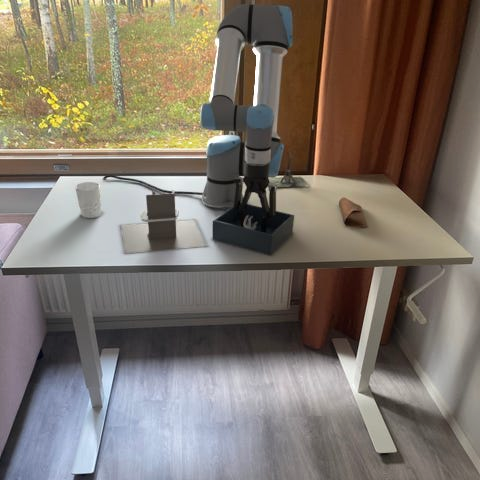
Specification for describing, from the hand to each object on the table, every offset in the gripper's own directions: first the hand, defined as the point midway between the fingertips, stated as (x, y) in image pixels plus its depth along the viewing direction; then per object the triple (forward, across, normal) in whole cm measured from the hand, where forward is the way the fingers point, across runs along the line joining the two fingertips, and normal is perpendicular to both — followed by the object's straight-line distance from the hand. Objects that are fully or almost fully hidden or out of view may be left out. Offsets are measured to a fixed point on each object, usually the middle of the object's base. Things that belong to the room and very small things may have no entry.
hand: (253, 232), depth 164 cm
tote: (+1, 0, 0) cm, 1 cm away
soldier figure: (0, -1, 0) cm, 1 cm away
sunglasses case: (+2, +23, +33) cm, 40 cm away
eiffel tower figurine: (+1, -9, +51) cm, 52 cm away
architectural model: (+2, -26, -15) cm, 30 cm away
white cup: (+2, -56, -14) cm, 57 cm away
